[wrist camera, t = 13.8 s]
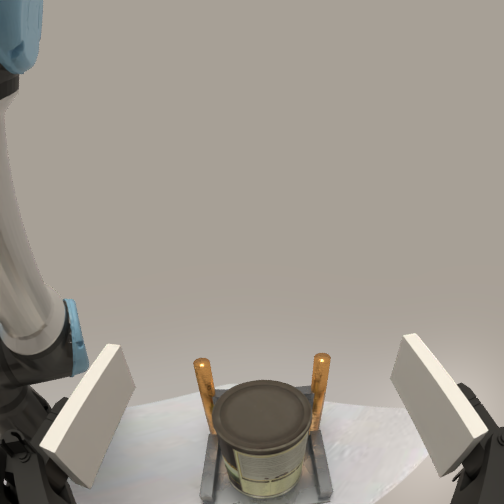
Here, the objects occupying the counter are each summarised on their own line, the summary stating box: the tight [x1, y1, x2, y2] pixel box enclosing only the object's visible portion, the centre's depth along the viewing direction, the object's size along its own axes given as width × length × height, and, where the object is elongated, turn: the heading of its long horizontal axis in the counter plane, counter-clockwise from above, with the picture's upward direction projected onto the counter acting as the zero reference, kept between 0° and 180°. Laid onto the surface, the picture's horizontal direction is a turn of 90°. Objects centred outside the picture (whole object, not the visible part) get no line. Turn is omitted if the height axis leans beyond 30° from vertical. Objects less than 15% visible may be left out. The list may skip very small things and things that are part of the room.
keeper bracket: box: [193, 353, 333, 504], centre depth 27 cm, size 16×14×16 cm
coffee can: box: [212, 380, 312, 499], centre depth 27 cm, size 10×10×14 cm
